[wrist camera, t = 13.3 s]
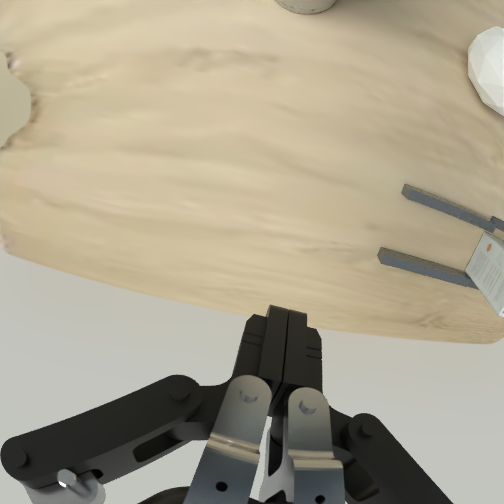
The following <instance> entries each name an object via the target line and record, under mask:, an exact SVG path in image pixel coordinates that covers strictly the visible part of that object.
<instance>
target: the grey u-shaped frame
mask: <svg viewBox="0 0 504 504" xmlns="http://www.w3.org/2000/svg"><path fill="white" fill-rule="evenodd" d="M402 194H403V195H404V196H405V197H406V198H407V199H410V200H412V201H415V202H418V203H421V204H423V205H426V206H429V207H431V208H434V209H437V210H439V211H442V212H444V213H447V214H449V215H452V216H454V217H457V218H459V219H462V220H464V221H466V222H469V223H471V224H473V225H476V226H478V227H480V228H483V229H485V230H487V231H489V232H492V233H493V232H494V229H495V227H496V224H495V223H493V222H492V221H491V220H490V219H488V218H486V217H484V216H482V215H480V214H477V213H475V212H473V211H471V210H469V209H466V208H464V207H462V206H459V205H457V204H455V203H452V202H450V201H448V200H445V199H443V198H440V197H438V196H435V195H433V194H430V193H428V192H425V191H423V190H420V189H417V188H415V187H412V186H409V185H407V184H404V187H403V190H402ZM377 256H378V258H379V260H380V263H381V264H385V265H389V266H392V267H396V268H400V269H404V270H407V271H411V272H415V273H418V274H422V275H426V276H429V277H433V278H437V279H440V280H444V281H447V282H451V283H454V284H458V285H462V286H465V287H466V286H467V284H468V283H469V281H470V279H469V277H468V276H467V275H466V273H465V272H463V271H460V270H456V269H453V268H450V267H447V266H444V265H440V264H437V263H434V262H430V261H427V260H424V259H420V258H417V257H414V256H410V255H407V254H403V253H400V252H396V251H393V250H389V249H386V248H382V247H381V248H380V250H379V253H378V255H377Z"/></svg>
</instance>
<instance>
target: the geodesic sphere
mask: <svg viewBox="0 0 504 504" xmlns="http://www.w3.org/2000/svg"><path fill="white" fill-rule="evenodd" d="M468 77H469V78H470V80H471V82H472V83H473V85H474V87H475V89H476V90H477V92H478V94H479V96H480V98H481V100H482V102H483V103H484V104H486V105H488V106H489V107H491V108H492V109H493V110H495V111H496V112H498V113H499V114H501V115H502V116H503V117H504V28H501V27H497V26H494V27H492V28H490V29H488V30H485V31H483V32H481V33H480V34H478V35H477V36H476V38H475V39H474V41H473V42H472V43H471V45H470V46H469V48H468Z"/></svg>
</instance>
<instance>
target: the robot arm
mask: <svg viewBox="0 0 504 504" xmlns="http://www.w3.org/2000/svg"><path fill="white" fill-rule="evenodd" d="M275 1H276V2H277V3H278V4H279V5H281V6H282V7H283V8H285V9H287V10H289V11H292V12H295V13H300V14H315V13H320V12H322V11H325V10H327V9H328V8H330V7H331V6H332V5H333V4H334V3H335V2H336V0H275ZM321 345H322V344H321V337H320V335H319V334H318V332H317V330H316V329H314V328H310V327H307V314H306V313H302V312H298V311H294V310H290V309H289V310H288V309H286V308H282V307H278V306H274V305H269V308H268V311H267V314H266V317H264V316H260V315H256V314H253V315H252V316H251V317H250V318H249V319H248V320H247V322H246V325H245V329H244V332H243V336H242V339H241V343H240V346H239V350H238V355H237V358H236V362H235V366H234V370H233V374H232V377H231V378H230V379H229V380H228V381H227V382H225V383H223V384H220V385H216V386H199V384H198V383H197V382H196V381H195V380H193V379H192V378H190V377H187V376H184V375H171V376H168V377H166V378H164V379H162V380H159V381H157V382H155V383H153V384H151V385H148V386H146V387H144V388H142V389H140V390H137V391H135V392H132V393H130V394H128V395H126V396H123V397H121V398H118V399H116V400H114V401H111V402H109V403H106V404H104V405H101V406H99V407H97V408H94V409H91V410H89V411H86V412H84V413H81V414H79V415H76V416H73V417H71V418H68V419H65V420H63V421H60V422H57V423H54V424H52V425H49V426H46V427H43V428H40V429H37V430H34V431H31V432H28V433H25V434H22V435H19V436H15V437H12V438H10V439H8V440H7V441H6V442H5V443H4V444H3V446H2V448H1V454H0V456H1V462H2V465H3V467H4V469H5V470H6V472H7V473H8V474H9V475H11V476H12V477H13V478H15V479H16V480H18V481H19V482H20V483H22V484H23V486H24V487H25V489H26V491H27V493H28V495H29V497H30V499H31V501H32V503H33V504H103V503H104V501H105V495H106V494H105V489H104V487H103V484H106V483H108V482H110V481H113V480H115V479H117V478H120V477H122V476H124V475H126V474H128V473H130V472H133V471H135V470H137V469H139V468H141V467H143V466H145V465H147V464H149V463H151V462H153V461H155V460H157V459H159V458H161V457H163V456H165V455H167V454H169V453H170V452H172V451H174V450H176V449H178V448H180V447H181V446H183V445H185V444H187V443H189V442H190V441H192V440H208V442H207V444H206V447H205V449H204V452H203V454H202V457H201V459H200V462H199V465H198V467H197V470H196V472H195V475H194V478H193V480H192V483H191V485H190V486H187V487H177V488H171V489H168V490H164V491H162V492H159V493H157V494H155V495H153V496H151V497H149V498H147V499H146V500H144V501H142V502H140V503H138V504H345V501H346V502H347V503H348V504H453V503H452V502H451V501H450V500H449V499H448V497H447V496H446V495H445V494H444V493H443V492H442V491H441V489H440V488H439V487H438V486H437V485H436V484H435V483H434V482H433V481H432V480H431V478H430V477H429V476H428V475H427V474H426V473H425V472H424V470H423V469H422V468H421V467H420V466H419V465H418V464H417V463H416V461H415V460H414V459H413V458H412V457H411V456H410V455H409V454H408V452H407V451H406V450H405V449H404V448H403V447H402V445H401V444H400V443H399V442H398V441H397V440H396V439H395V438H394V436H393V435H392V434H391V433H390V432H389V431H388V430H387V428H386V427H385V426H384V425H383V424H382V423H381V421H380V420H379V419H378V418H376V417H375V416H373V415H371V414H367V413H361V414H357V415H355V416H354V417H353V418H352V417H349V416H347V415H345V414H343V413H340V412H338V411H336V410H335V409H333V408H331V406H330V405H329V404H328V401H327V399H326V398H325V396H324V395H323V392H322V360H321V359H322V352H321V350H322V346H321ZM267 416H270V417H272V423H271V427H270V428H269V430H268V432H267V439H266V455H265V470H264V479H263V482H262V485H261V488H260V493H259V501H257V500H255V499H252V498H250V497H249V496H250V493H251V489H252V485H253V482H254V478H255V474H256V471H257V467H258V463H259V458H260V452H259V446H260V443H261V439H262V434H263V431H264V427H265V423H266V418H267Z"/></svg>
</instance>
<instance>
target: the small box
mask: <svg viewBox="0 0 504 504" xmlns="http://www.w3.org/2000/svg"><path fill="white" fill-rule="evenodd" d="M465 271H466V273H467V274H468V275H469V276H470V278H471V279H472V280H473V282H474V283H475V284H476V286H477V287H478V288H479V290H480V291H481V292H482V294H483V295H484V296H485V298H486V299H487V301H488V302H489V303H490V305H491V306H492V308H493V309H494V311H495V312H496V314H497V315H498V316H502V317H504V241H502V240H500V239H498V238H496V237H494V236H492V235H490V234H488V233H486V232H484V233H483V235H482V237H481V239H480V242H479V244H478V246H477V248H476V250H475V252H474V254H473V256H472V258H471V260H470V262H469V264H468V266H467V268H466V269H465Z"/></svg>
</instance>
